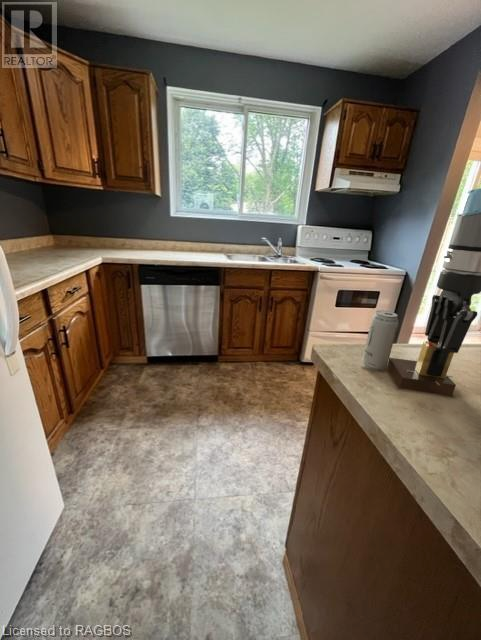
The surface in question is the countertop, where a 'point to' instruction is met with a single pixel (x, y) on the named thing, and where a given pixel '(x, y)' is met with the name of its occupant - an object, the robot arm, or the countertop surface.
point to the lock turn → (426, 358)
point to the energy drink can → (380, 340)
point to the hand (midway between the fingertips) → (430, 371)
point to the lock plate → (418, 378)
